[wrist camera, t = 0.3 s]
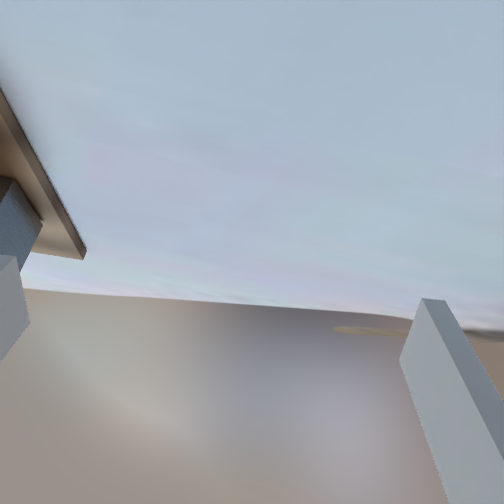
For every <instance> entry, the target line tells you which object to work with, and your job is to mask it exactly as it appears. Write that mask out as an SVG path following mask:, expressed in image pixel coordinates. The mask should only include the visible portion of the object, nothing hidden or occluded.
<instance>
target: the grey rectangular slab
mask: <svg viewBox="0 0 504 504" xmlns="http://www.w3.org/2000/svg"><path fill="white" fill-rule="evenodd" d="M42 227H43V224H42V223H41V221H40V219H39V218H38V216H37V215H36V213H35V212H34V210H33V208H32V207H31V205H30V204H29V202H28V201H27V199H26V197H25V196H24V194H23V193H22V191H21V190H20V188H19V186H18V185H17V183H16V182H15V180H14V179H7V178H1V177H0V254H1V255H10V256H16V258H17V263H18V268H19V272H20V271H21V269H22V267H23V265H24V263H25V261H26V259H27V257H28V255H29V253H30V251H31V249H32V247H33V245H34V243H35V241H36V239H37V237H38V235H39V233H40V231H41V229H42Z"/></svg>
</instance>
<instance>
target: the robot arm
mask: <svg viewBox="0 0 504 504" xmlns="http://www.w3.org/2000/svg"><path fill="white" fill-rule="evenodd" d="M29 324H30V320H29V316H28V311H27V306H26V301H25V296H24V292H23V287H22V282H21V277H20V272H19V268H18V263H17V258H16V256H10V255H1V254H0V362H1V361H2V359H3V358H4V357H5V355H6V354H7V352H8V351H9V350H10V349H11V347H12V346H13V345H14V344H15V342H16V341H17V339H18V338H19V337H20V336H21V334H22V333H23V332H24V330H25V329H26V328H27V326H28V325H29ZM399 362H400V365H401V368H402V371H403V373H404V376H405V379H406V382H407V385H408V387H409V390H410V393H411V396H412V399H413V402H414V405H415V407H416V410H417V413H418V416H419V419H420V422H421V424H422V427H423V430H424V433H425V436H426V438H427V441H428V444H429V447H430V450H431V452H432V455H433V458H434V461H435V464H436V467H437V470H438V473H439V475H440V478H441V481H442V483H443V487H444V490H445V492H446V495H447V498H448V500H449V504H504V401H503V400H502V398H501V397H500V395H499V393H498V391H497V389H496V388H495V386H494V384H493V382H492V381H491V379H490V377H489V376H488V374H487V372H486V370H485V369H484V367H483V365H482V363H481V362H480V360H479V358H478V357H477V355H476V353H475V352H474V350H473V348H472V346H471V344H470V343H469V341H468V339H467V338H466V336H465V334H464V332H463V331H462V329H461V327H460V325H459V324H458V322H457V320H456V319H455V317H454V315H453V313H452V312H451V310H450V308H449V307H448V305H447V303H446V301H444V300H434V299H424V298H422V299H421V302H420V304H419V307H418V310H417V313H416V315H415V318H414V321H413V324H412V326H411V329H410V332H409V335H408V337H407V340H406V343H405V346H404V348H403V351H402V354H401V357H400V359H399Z"/></svg>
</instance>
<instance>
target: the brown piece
mask: <svg viewBox="0 0 504 504" xmlns="http://www.w3.org/2000/svg"><path fill="white" fill-rule="evenodd" d="M0 177H1V178H7V179H14V180H15V182H16V183H17V185H18V186H19V188H20V190H21V191H22V193H23V194H24V196H25V197H26V199H27V201H28V202H29V204H30V205H31V207H32V208H33V210H34V212H35V213H36V215H37V216H38V218H39V219H40V221H41V223H42V224H43V227H42V229H41V231H40V233H39V235H38V237H37V239H36V241H35V243H34V245H33V247H32V249H31V251H30V252H35V253H42V254H48V255H54V256H61V257H67V258H73V259H79V260H83V259H84V257H85V254H86V252H87V251H86V249H85V248H84V246H83V244H82V242H81V240H80V238H79V236H78V234H77V233H76V231H75V229H74V227H73V225H72V223H71V221H70V219H69V218H68V216H67V214H66V212H65V210H64V208H63V206H62V204H61V203H60V201H59V199H58V197H57V195H56V193H55V191H54V189H53V188H52V186H51V184H50V182H49V180H48V178H47V176H46V174H45V173H44V171H43V169H42V167H41V165H40V163H39V161H38V159H37V158H36V156H35V154H34V152H33V150H32V148H31V146H30V145H29V143H28V141H27V139H26V137H25V135H24V133H23V131H22V130H21V128H20V126H19V124H18V122H17V120H16V118H15V116H14V115H13V113H12V111H11V109H10V107H9V105H8V103H7V101H6V100H5V98H4V96H3V94H2V92H1V90H0Z"/></svg>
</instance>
